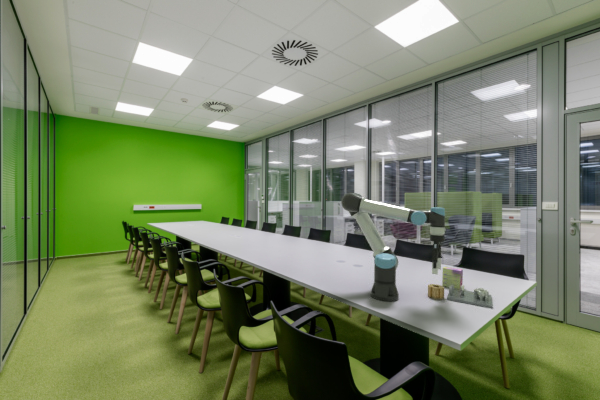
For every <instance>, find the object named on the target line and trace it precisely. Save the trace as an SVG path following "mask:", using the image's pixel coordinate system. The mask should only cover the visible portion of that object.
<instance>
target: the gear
mask: <svg viewBox="0 0 600 400" xmlns="http://www.w3.org/2000/svg"><path fill="white" fill-rule="evenodd" d="M427 285H428V286H427V296H428V297H429V298H431V299H434V300H443V299H445V286H442V285H440V284H436V283H433V284H432V283H429V284H427Z"/></svg>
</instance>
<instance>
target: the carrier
mask: <svg viewBox="0 0 600 400" xmlns="http://www.w3.org/2000/svg"><path fill="white" fill-rule="evenodd" d="M489 293H490V292H489V291H488V290H487V289H484V288H482V287H478V288H474V289H473V291H470V290H466V289H465V285H463V284H462V285H461V289H455V288H454V285H453V284H451V285H449V287H448V293H447V296H446V300H447V301H453V302H458V303H464V304H468V305H473V306H477V307H478V306H479V307H484V308H488V309H492V308H493V301H492V294H489Z"/></svg>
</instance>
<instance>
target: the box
mask: <svg viewBox="0 0 600 400" xmlns="http://www.w3.org/2000/svg"><path fill="white" fill-rule="evenodd" d="M463 273H464V271H463V268H462V269H461V268H454V267H449V266H444V267H442V281H441V282H442V284H441V286H443V287H447V288H449V285H451V284H453V285H454V289H460V290H461V285H463V282H464V281H463V280H464V279H463V275H464V274H463Z"/></svg>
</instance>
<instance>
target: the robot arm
mask: <svg viewBox="0 0 600 400" xmlns="http://www.w3.org/2000/svg"><path fill="white" fill-rule="evenodd" d="M340 201H341V202H340V203H341V207H342V208H343V209H344V210H345V211H346V212H348V213H349V215H350V217H351V218H354V219H355V220H356V223H357V224H358V226H359V228H360V229H361V232H362V234H363V236H364V237H365V240H366V241H367V243H368V244H369V247H370V248H371V250H372V252H373V254H372V257H373V259H374V260H373V262H374V272H373V273H374V275H373V278H374V279H373V284H372V287H371V290H370V296H371V298H373V299H375V300H379V301H382V302H394V301H398V300H399V297H400V296H399V291H398V288H397V284H396V282H397V281H396V280H397V279H396V278H397V268H398V265H399V259H398V257H397V255H396V254H395V253H394V252H393V251H392V249H391V247H390V246H388V245H386V243H385V241H384V238H382V236H381V234H380V232H379V231H378V228H377V227H376V225H375V224H374V221H373V220H372V217H370V215H374V216H379V217H383V218H387V219H392V220H396V221H401V222H404V223H408V224H413V225H415V226H422V225H424V224H426V225H427V224H429V225H430V226H429V233H430V234H429V241H430V242H433V244H432V256H431V259H430V262H431V268H432V269H431V274H432V275H438V274H439V273H438V272H439V271H440V270H442V259H443V256H442V243H445V240H446V239H445V238H446V237H445V233H446V231H447V229H446V209H445V208H444V207H434V206H433V207H430V210H423V209H422V210H417V209H416V210H415V209H411V208H406V207H402V206H398V205H393V204H388V203H385V202H379V201H374V200H370V199H366V198H365V197H364V196H362V195H361V194H360V193H356V192H347V193H346V194H344V195H343V196H342V198H341V200H340ZM369 214H370V215H369Z"/></svg>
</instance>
